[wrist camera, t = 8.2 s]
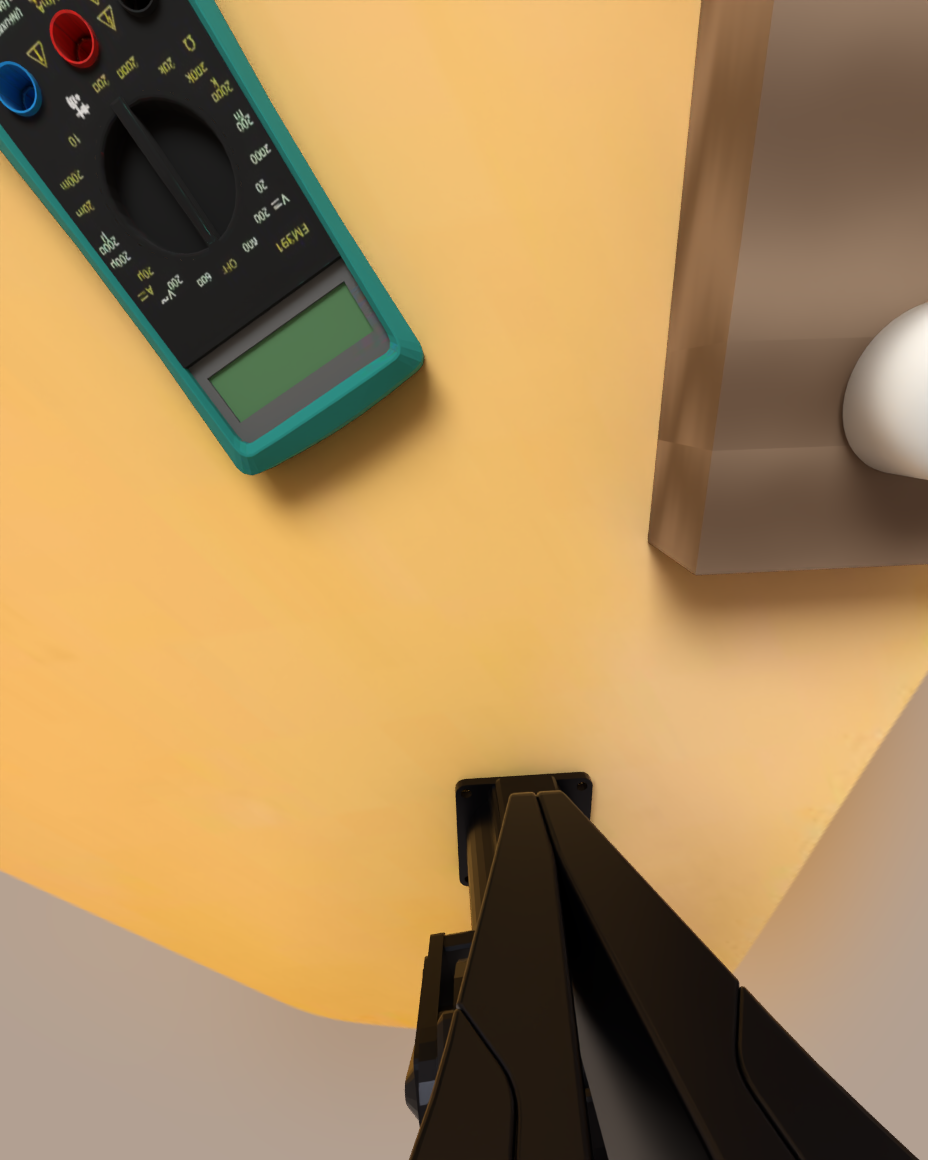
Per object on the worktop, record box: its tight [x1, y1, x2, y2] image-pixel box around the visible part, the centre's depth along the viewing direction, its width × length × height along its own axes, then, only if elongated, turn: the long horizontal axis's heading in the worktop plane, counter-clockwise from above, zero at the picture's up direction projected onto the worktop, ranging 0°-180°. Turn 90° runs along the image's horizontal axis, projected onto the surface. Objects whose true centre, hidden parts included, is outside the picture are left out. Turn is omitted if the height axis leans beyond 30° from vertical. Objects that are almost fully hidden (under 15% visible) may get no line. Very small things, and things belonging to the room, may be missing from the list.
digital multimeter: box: [0, 0, 424, 475], centre depth 15 cm, size 7×15×3 cm, turn 31°
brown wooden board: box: [648, 0, 928, 575], centre depth 15 cm, size 24×12×4 cm, turn 2°
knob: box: [843, 302, 928, 480], centre depth 15 cm, size 5×5×7 cm
